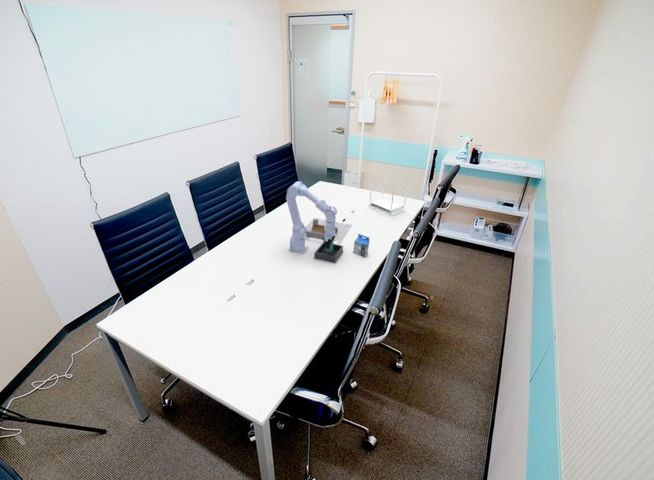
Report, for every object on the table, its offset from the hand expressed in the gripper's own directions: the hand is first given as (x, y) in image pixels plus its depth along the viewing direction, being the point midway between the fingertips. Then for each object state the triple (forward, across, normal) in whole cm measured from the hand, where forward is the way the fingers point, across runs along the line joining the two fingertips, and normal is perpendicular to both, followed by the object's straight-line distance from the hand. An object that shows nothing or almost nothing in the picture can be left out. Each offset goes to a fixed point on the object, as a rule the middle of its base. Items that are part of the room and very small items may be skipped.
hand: (329, 246), depth 209 cm
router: (+6, +92, -18) cm, 94 cm away
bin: (+6, 0, 0) cm, 6 cm away
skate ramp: (+6, +31, +14) cm, 35 cm away
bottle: (+2, 0, 0) cm, 2 cm away
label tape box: (+6, +10, -18) cm, 22 cm away
